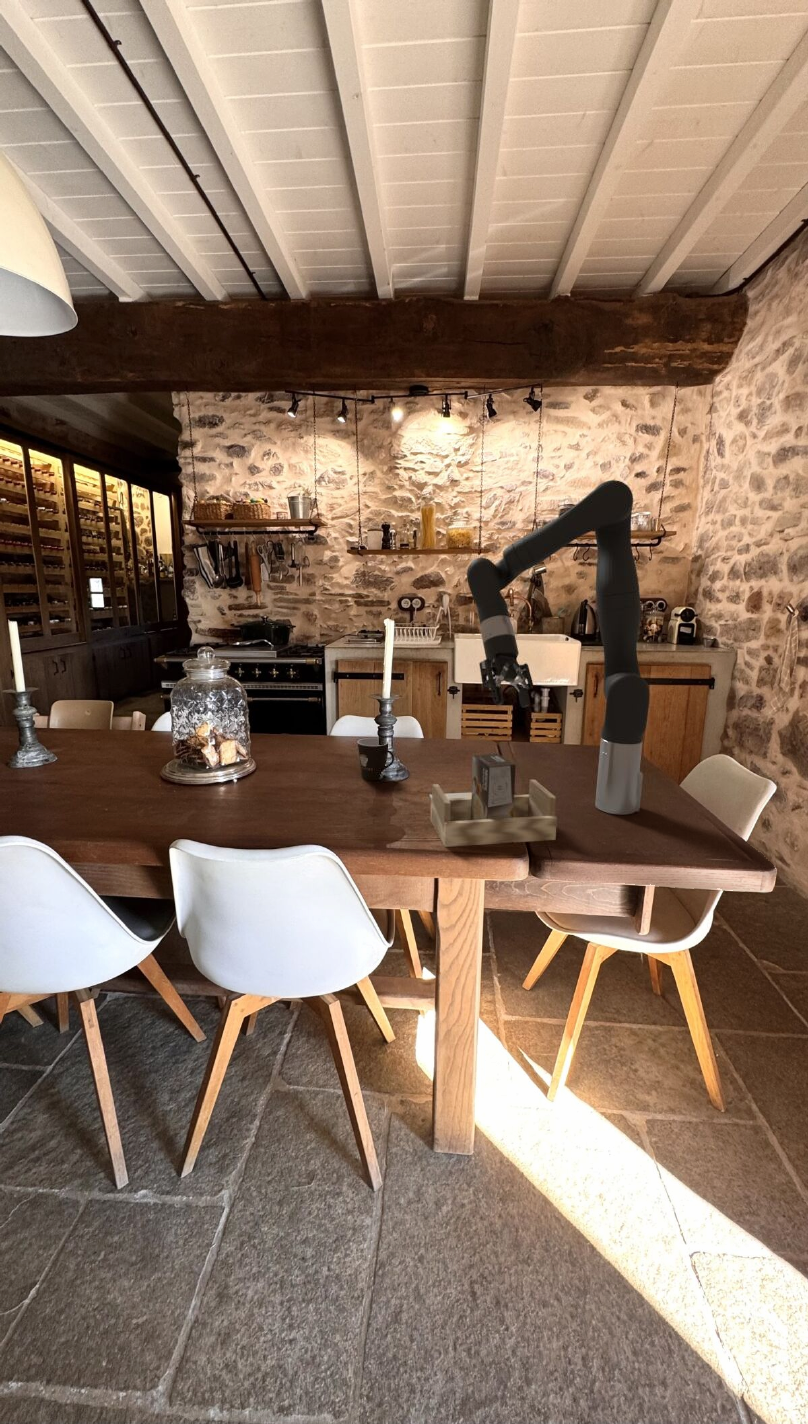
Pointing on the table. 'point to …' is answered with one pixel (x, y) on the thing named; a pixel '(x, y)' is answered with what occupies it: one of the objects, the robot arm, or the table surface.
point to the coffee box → (492, 787)
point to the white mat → (457, 795)
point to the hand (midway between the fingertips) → (513, 705)
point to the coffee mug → (373, 758)
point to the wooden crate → (529, 826)
